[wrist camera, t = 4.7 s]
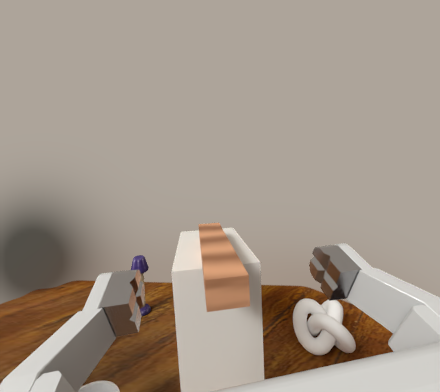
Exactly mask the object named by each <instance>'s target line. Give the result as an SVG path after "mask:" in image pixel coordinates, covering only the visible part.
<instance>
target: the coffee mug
mask: <svg viewBox="0 0 440 392" xmlns="http://www.w3.org/2000/svg"><path fill="white" fill-rule="evenodd" d="M78 392H120V390H119V388H118V387H117V385H115V384H114V383H112V382H110V381H96V382H92V383H89V384H87V385H84V386H82V387H81V388H80V389H79V390H78Z"/></svg>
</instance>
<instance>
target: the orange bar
mask: <svg viewBox="0 0 440 392" xmlns="http://www.w3.org/2000/svg"><path fill="white" fill-rule="evenodd" d="M199 238H200V248H201V259H202V269H203V279H204V289H205V299H206V309H207V312H211V311H219V310H226V309H234V308H241V307H249V306H250V292H249V275H248V273H247V271H246V269H245V268H244V266H243V264H242V262H241V261H240V259H239V257H238V255H237V254H236V252H235V250H234V248H233V247H232V245H231V243H230V241H229V240H228V238H227V236H226V234H225V232H224V231H223V229H222V227H221V226H220V224H219V223H211V224H200V225H199Z"/></svg>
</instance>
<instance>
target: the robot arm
mask: <svg viewBox="0 0 440 392" xmlns="http://www.w3.org/2000/svg"><path fill="white" fill-rule="evenodd" d="M313 255H314V257H313V258H312V259H311V261H310V265H309V266H310V272H311V274H312V276H313V278H314V279H315V280H316V281H318V282H319V283H321V289H322V291H323V292H324V294H325V295H326V296H327V298H328V299H329V301H331V300H339V299H346V298H347V300H348V301H350V302H351V303H352V304H354V305H355V306H356V307H358V308H359V309H361V310H362V311H363V312H365V313H366V314H367V315H369V316H370V317H371V318H373V319H374V320H376V321H377V322H378V323H380V324H381V325H382V326H384V327H385V328H387V329H388V330H389V331H391V332H392V333H393V335H392V336H391V338H390V339H389V341H388V345H389V346H390V347H391V348H392V350H393V351H394V352H391V353H386V354H381V355H377V356H372V357H367V358H363V359H358V360H354V361H349V362H344V363H340V364H335V365H330V366H326V367H321V368H316V369H312V370H307V371H303V372H298V373H293V374H289V375H284V376H280V377H275V378H270V379H266V380H261V381H256V382H252V383H247V384H243V385H238V386H233V387H229V388H224V389H219V390H215V391H210V392H440V298H439V297H437V296H435V295H433V294H431V293H429V292H427V291H424V290H422V289H420V288H418V287H416V286H414V285H411V284H409V283H407V282H405V281H403V280H401V279H399V278H397V277H394V276H392V275H390V274H388V273H386V272H384V271H381V270H379V269H377V268H372V267H371V266H370V265H369V264H368V263H367V262H366V261H365V260H364V259H363V258H362V257H361V256H360V255H358V254H357V253H356V252H355V251H354V250H353V249H352V248H351V247H350V246H349V245H347V244H345V243H344V244H336V245H328V246H322V247H316V248H315V249H314V251H313ZM140 279H141V273H140V270H129V271H120V272H112V273H101V274H100V275H99V276H98V277H97V280H96V282H95V284H94V286H93V289H92V291H91V293H90V295H89V297H88V300H87V302H86V304H85V306H84V309H83V311H79V312H77V313H76V314H75V315H74V316H73V317H72V318H71V319H70V320H68V321H67V322H66V323H65V324H64V325H63V326H62V327H61V328H60V329H59V330H57V331H56V332H55V333H54V334H53V335H52V336H51V337H50V338H49V339H48V340H46V341H45V342H44V343H43V344H42V345H41V346H40V347H39V348H38V349H37V350H35V351H34V352H33V353H32V354H31V355H30V356H29V357H28V358H27V359H25V360H24V361H23V362H22V363H21V364H20V365H19V366H18V367H17V368H16V369H14V370H13V371H12V372H11V373H10V374H9V375H8V376H7V377H6V378H5V379H4V380H3V381H2V383H1V385H0V392H78V390H79V389H80V388H81V386H82V385H83V383H84V382H85V381H86V379H87V378H88V377H89V375H90V374H91V372H92V371H93V370H94V368H95V367H96V365H97V364H98V363H99V361H100V360H101V358H102V357H103V356H104V354H105V353H106V351H107V350H108V349H109V347H110V346H111V344H112V343H113V342H114V340H115V339H116V337H118V336H123V335H128V334H133V333H138V332H139V326H140V321H141V313H140V309H141V308H142V306H143V304H144V294H145V291H144V284H143V282H141V281H140Z"/></svg>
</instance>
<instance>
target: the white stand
mask: <svg viewBox="0 0 440 392" xmlns="http://www.w3.org/2000/svg"><path fill="white" fill-rule="evenodd" d="M223 231H224V232H225V234H226V236H227V238H228V240H229V241H230V243H231V245H232V247H233V248H234V250H235V252H236V254H237V255H238V257H239V259H240V261H241V262H242V264H243V266H244V268H245V269H246V271H247V273H248V275H249V292H250V306H249V307H241V308H234V309H226V310H219V311H211V312H207V309H206V299H205V289H204V279H203V269H202V259H201V248H200V238H199V230H198V231H186V232H181V234H180V238H179V242H178V247H177V251H176V255H175V260H174V264H173V268H172V283H173V296H174V309H175V322H176V334H177V347H178V360H179V373H180V386H181V392H210V391H215V390H219V389H224V388H229V387H233V386H238V385H243V384H247V383H252V382H256V381H261V380H264V356H263V327H262V299H261V271H260V261H259V260H258V259H257V258H256V256H255V255H254V254H253V253H252V251H251V250H250V249H249V247H248V246H247V245H246V244H245V242H244V241H243V240H242V239H241V237H240V236H239V235H238V234H237V232H236V231H235V230H234V229H233V228H223Z"/></svg>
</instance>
